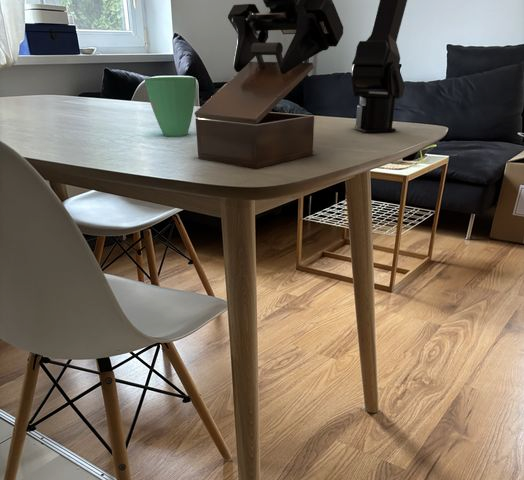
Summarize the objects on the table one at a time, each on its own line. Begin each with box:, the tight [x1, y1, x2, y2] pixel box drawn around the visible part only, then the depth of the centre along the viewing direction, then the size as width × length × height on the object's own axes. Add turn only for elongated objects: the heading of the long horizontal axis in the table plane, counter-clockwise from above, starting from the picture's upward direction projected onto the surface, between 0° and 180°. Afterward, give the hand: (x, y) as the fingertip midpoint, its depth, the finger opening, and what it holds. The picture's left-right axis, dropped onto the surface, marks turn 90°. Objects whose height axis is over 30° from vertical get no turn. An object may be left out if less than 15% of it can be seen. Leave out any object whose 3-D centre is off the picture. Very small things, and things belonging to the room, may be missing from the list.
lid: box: [193, 41, 315, 124], centre depth 75 cm, size 14×13×5 cm
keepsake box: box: [195, 111, 315, 170], centre depth 80 cm, size 14×13×6 cm
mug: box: [144, 76, 197, 137], centre depth 102 cm, size 15×10×10 cm
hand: (257, 70), depth 76 cm, fingers open, 9 cm apart
